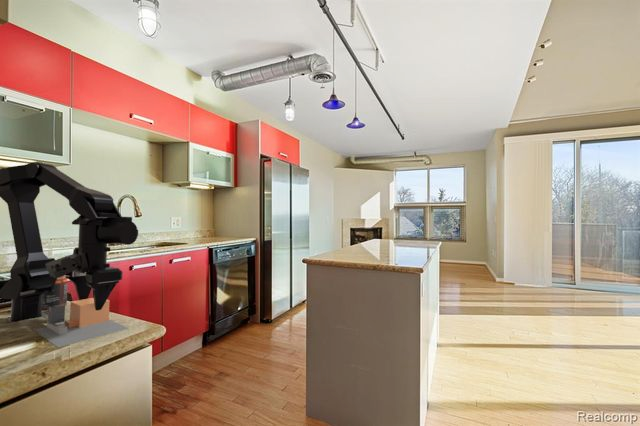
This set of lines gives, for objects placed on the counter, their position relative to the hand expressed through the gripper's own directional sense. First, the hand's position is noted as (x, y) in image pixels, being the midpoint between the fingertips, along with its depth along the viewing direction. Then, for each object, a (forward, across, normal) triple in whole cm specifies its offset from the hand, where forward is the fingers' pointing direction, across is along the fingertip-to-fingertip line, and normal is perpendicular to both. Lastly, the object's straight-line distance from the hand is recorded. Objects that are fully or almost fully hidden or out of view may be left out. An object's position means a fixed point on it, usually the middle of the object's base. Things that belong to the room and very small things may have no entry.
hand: (90, 306), depth 74 cm
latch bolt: (+2, -3, -7) cm, 8 cm away
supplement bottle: (+5, -26, 0) cm, 26 cm away
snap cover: (+4, 0, 0) cm, 4 cm away
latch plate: (+5, +4, -3) cm, 7 cm away
